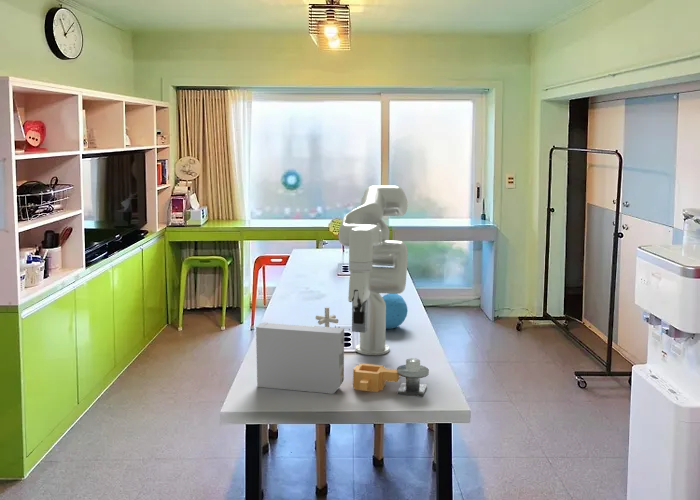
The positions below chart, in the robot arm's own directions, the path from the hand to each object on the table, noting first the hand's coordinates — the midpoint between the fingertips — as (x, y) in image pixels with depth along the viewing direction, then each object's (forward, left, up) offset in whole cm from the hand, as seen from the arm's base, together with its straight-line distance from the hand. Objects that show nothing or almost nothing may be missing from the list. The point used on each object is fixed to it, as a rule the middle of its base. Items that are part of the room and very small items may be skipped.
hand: (359, 321), depth 225 cm
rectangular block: (0, 0, -3) cm, 3 cm away
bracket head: (+7, +7, -20) cm, 22 cm away
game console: (+12, -17, -20) cm, 28 cm away
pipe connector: (-48, -26, -20) cm, 58 cm away
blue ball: (-60, -4, -20) cm, 63 cm away
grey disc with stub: (+5, +18, -20) cm, 27 cm away
